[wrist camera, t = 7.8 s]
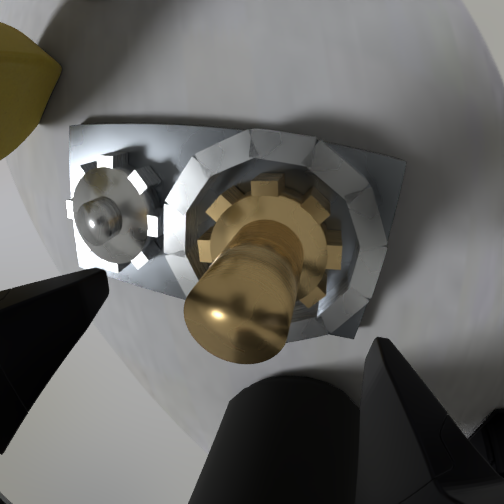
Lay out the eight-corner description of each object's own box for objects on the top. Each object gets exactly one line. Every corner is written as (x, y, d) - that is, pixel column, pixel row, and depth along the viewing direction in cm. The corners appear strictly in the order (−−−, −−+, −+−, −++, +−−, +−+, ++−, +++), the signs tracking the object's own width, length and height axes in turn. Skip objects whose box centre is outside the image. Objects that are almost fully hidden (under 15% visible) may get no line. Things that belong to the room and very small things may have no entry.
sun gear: (173, 156, 15) (143, 163, 12) (171, 273, 18) (147, 296, 15) (80, 150, 16) (48, 158, 13) (86, 249, 19) (60, 266, 16)
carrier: (402, 155, 13) (415, 161, 11) (352, 331, 17) (353, 359, 15) (80, 121, 16) (52, 125, 14) (88, 263, 21) (66, 278, 18)
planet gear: (342, 174, 13) (356, 223, 7) (335, 297, 16) (332, 403, 9) (207, 174, 14) (120, 219, 8) (219, 289, 17) (163, 378, 11)
